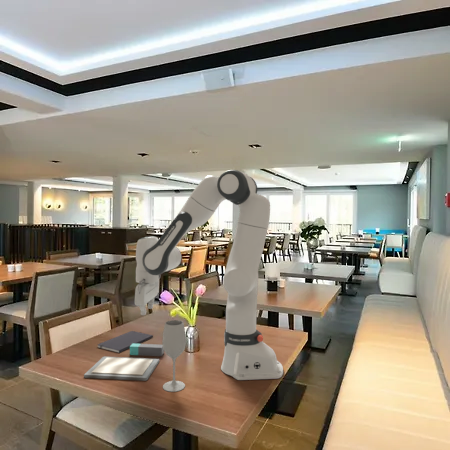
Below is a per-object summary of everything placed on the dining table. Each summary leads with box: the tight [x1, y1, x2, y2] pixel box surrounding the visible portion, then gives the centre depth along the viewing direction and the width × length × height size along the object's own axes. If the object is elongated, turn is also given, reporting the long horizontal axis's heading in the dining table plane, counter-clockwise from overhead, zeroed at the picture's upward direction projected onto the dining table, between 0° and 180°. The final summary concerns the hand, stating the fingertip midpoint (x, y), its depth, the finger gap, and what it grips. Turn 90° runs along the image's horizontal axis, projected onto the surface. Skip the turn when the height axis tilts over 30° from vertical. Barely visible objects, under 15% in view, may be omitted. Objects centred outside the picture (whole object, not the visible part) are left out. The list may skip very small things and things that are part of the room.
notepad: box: [83, 356, 160, 382], centre depth 132 cm, size 22×16×1 cm
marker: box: [129, 343, 165, 357], centre depth 147 cm, size 13×3×3 cm, turn 85°
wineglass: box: [161, 319, 187, 393], centre depth 119 cm, size 8×8×21 cm
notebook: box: [97, 330, 154, 354], centre depth 160 cm, size 13×2×21 cm
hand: (147, 311), depth 146 cm, fingers open, 8 cm apart
